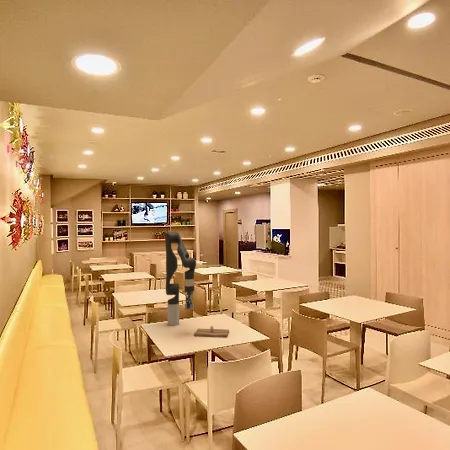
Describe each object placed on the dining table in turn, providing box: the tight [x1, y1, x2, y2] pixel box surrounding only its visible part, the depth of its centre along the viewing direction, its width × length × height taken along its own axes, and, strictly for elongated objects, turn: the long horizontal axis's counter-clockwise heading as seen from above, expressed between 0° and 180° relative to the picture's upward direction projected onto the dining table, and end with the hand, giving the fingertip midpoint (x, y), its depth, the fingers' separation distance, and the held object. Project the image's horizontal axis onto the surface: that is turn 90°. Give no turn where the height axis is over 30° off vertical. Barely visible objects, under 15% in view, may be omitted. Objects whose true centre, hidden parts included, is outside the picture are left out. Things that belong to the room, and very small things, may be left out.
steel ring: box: [184, 302, 195, 311], centre depth 269 cm, size 6×6×4 cm
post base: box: [193, 325, 230, 339], centre depth 267 cm, size 14×24×6 cm, turn 83°
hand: (189, 307), depth 269 cm, fingers closed on steel ring, 6 cm apart
